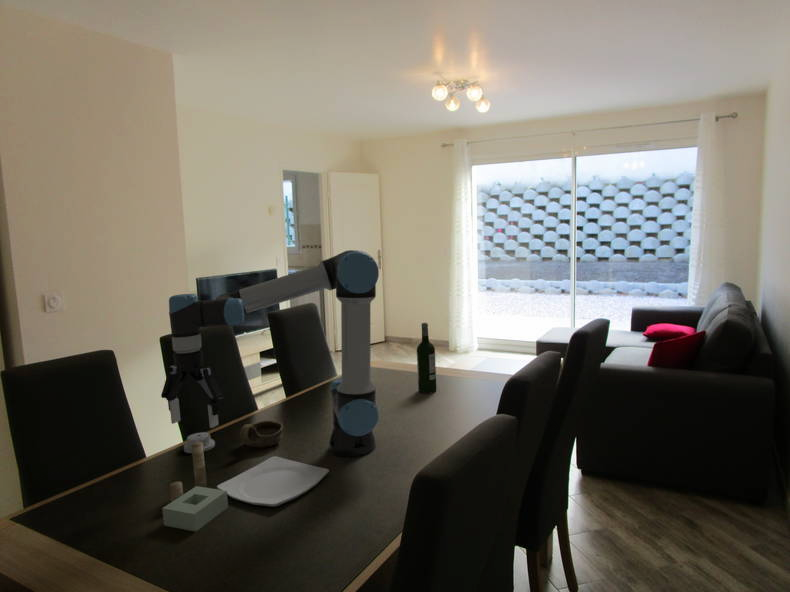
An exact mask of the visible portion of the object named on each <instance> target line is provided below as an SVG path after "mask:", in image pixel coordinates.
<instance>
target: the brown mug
mask: <svg viewBox="0 0 790 592" xmlns="http://www.w3.org/2000/svg"><path fill="white" fill-rule="evenodd" d="M283 429H284V425H283V423H282V422H279V421H276V420H267V419H266V420H261V421H257V422H252V423H249V424H248V423H245V424H244V425H242V426H241V429H240V432H239V435H240V436H239V437H240V440H241V441H242V443H243V444H245V445H247V446H250V447H254V448H267V447H273V446H274V444H277V443H279V442H280V441H282V439H283V435H284V430H283Z"/></svg>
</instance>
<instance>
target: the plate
mask: <svg viewBox="0 0 790 592" xmlns="http://www.w3.org/2000/svg"><path fill="white" fill-rule="evenodd" d="M328 473H330V470H329V468H324V467H320V466H316V465H315V466H314V465H311V464H308V463H303V462H299V461H294V460H290V459H288V458H287V459H286V458H284V457H280V456H276V455H275V456H271V457H269V458H267V459H266V460H264V461H262V462H260V463H259V464H257V465H254V466H253V467H251V468H249V469H247V470H245V471H243V472H242V473H240V474H238V475H236V476H234V477H232V478H230V479H228V480H226V481H224V482H222V483H219V484H218V485H217V486H216V489H218V490H224V491H227V496H229V497H230V498H232V499H233V500H238V501H240V502H242V503H246V504H250V505H256V506H264V507H272V508H273V507H278V506H280V505H282V504H285V503H288V502H290V501H292V500H295V499H297V498H298V497H300V496H301V495H304V494H305V493H306V492H308V491H310V490H311V489H312V488H314V487H315V486H316V485H317V484H319V482H320V481H322V479H323V478H324V477H325V476H326V475H327V474H328Z"/></svg>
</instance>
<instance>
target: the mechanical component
mask: <svg viewBox="0 0 790 592" xmlns="http://www.w3.org/2000/svg"><path fill="white" fill-rule="evenodd" d="M195 442H202V443H203V452H204V453H205V452H207V451H210V450H211V449H213V448H214V447H216V446H215V445H216V441H215V440H214V439H212V438H211V434H210V433H208V432H206V431H203V432H202V431H201V432H196V433H192V434H190V435H188V436H187V437H186V443H185V444H184V445H183V451H184V453H187V454H192V446H191V445H192V444H193V443H195Z"/></svg>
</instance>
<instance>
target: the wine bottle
mask: <svg viewBox="0 0 790 592" xmlns="http://www.w3.org/2000/svg"><path fill="white" fill-rule="evenodd" d="M416 363H417V364H416V365H417V382H418V383H417V386H418V388H417V389H418V392H419V391H420V392H419V393H421V392H424V393H423V394H430V393H429V392H433V393H435V392H436V391H437V370H436V369H437V367H436V366H437V365H436V348H435V345H434V344H432V343H431V342H430V337H429V324H428V322H423V323H421V341H420V343H419V344H418V345H417V346H416ZM434 391H435V392H434Z"/></svg>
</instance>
